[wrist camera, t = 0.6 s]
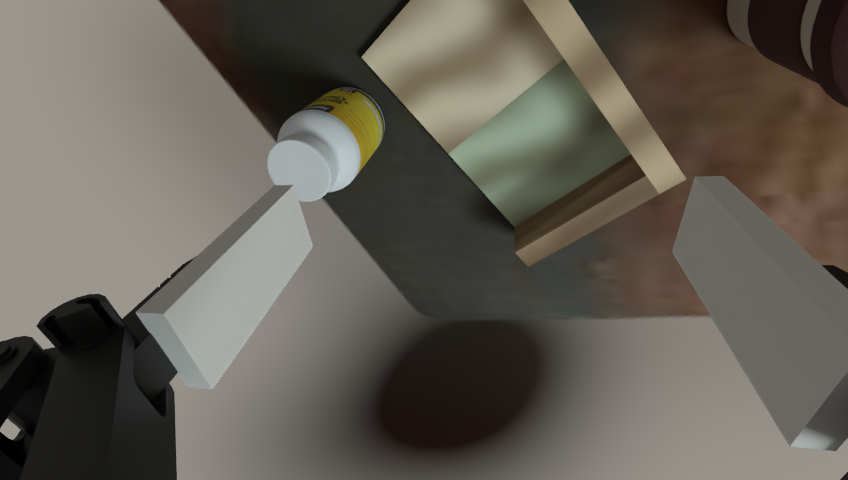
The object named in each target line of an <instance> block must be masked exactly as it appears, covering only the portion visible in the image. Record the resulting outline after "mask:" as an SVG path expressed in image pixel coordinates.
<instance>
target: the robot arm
mask: <svg viewBox="0 0 848 480" xmlns="http://www.w3.org/2000/svg"><path fill="white" fill-rule="evenodd" d="M312 248H313V245H312V242H311V239H310V236H309V232H308V230H307V226H306V223H305V220H304V217H303V213H302V210H301V207H300V204H299V201H298V197H297V194H296V191H295V188H294V185H275V186H273V187H272V188H271V189H270V190H269V191H268V192H267V193H266V194H265V195H264V196H262V197H261V198H260V199H259V200H258V201H257V202H256V203H255V204H254V205H253V206H251V207H250V208H249V209H248V210H247V211H246V212H245V213H244V214H243V215H242V216H240V217H239V218H238V219H237V220H236V221H235V222H234V223H233V224H232V225H231V226H230V227H228V228H227V229H226V230H225V231H224V232H223V233H222V234H221V235H220V236H219V237H217V238H216V239H215V240H214V241H213V242H212V243H211V244H210V245H209V246H208V247H206V248H205V249H204V250H203V251H202V252H201V253H200V254H199V255H198V256H196V257H195V258H193V259H192V260H190V261H188V262H186V263H185V264H183V265H182V266H181V267H180V268H178V270H176V271H175V272H174V273H173V274H172V275H171V278H167V279H166V280H165V281H164V282H163V283H162V284H161V285H160V287H157V288H156V289H155V290H154V291H153V292H152V293H151V294H150V295H148V296H147V297H146V298H145V299H144V300H143V301H142V302H141V303H139V304H138V305H137V306H136V307H135V308H134V309H133V310H132V311H131V312H130V313H129V314H127V315H126V316H125V317H124V318H123V319H121V317H120V316H119V315H118V313H117V312H116V311H115V309H114V308H113V307H112V305H111V304H110V302H109V301H108V300H107V298H106V297H105V296H103V295H100V294H89V295H86V296H81V297H78V298H75V299H73V300H70V301H68V302H66V303H63V304H62V305H60V306H58V307H57V308H55V309H53V310H52V311H50V312H49V313H48V314H47V315H46V316H45V317H43V318H42V319H41V320H40V322H39V323H38V325H37V327H38V328H39V329H40V331H42V333H43V334H44V335H45V336H46V337H47V338H48V339H49V340H50V341H51V342H52V344H53V345H54V346H55V348H50V349H45V350H43V349H42V348H41V346H40V345H39V344H38V343H37V342H36V341H35V340H34V339H33V338H32V337H27V336H22V337H15V338H12V339H9V340H6V341H1V342H0V428H1V426H2V425H3V423H4V422H5V420H6V419H7V418H8V419H9V420H10V421H11V422H12V423H14V424H15V425H16V426H17V427H18V428H19V429H21V430H20V432H19V434H18V435H17V437H16V438H15V439H14V440H11V439H8V438H7V437H6V436H5V435H3V434H2V433H1V432H0V480H177V472H176V442H175V441H176V438H175V405H174V404H175V403H174V391H173V389H172V387H171V385H170V384H169V382H170V381H171V380H172V379H173V377H174V376H175V375H176V374H177V373H178V374H179V376H180V377H181V379H182V380H183V381H184V383H185V384H186V386H187V387H191V388H202V389H211V390H212V389H213V388H214V386H215V385H216V384H217V382H218V381H219V379H220V378H221V376H222V375H223V374H224V372H225V371H226V369H227V368H228V367H229V365H230V364H231V362H232V361H233V360H234V358H235V357H236V355H237V354H238V352H239V351H240V350H241V348H242V347H243V345H244V344H245V343H246V341H247V340H248V338H249V337H250V335H251V334H252V332H253V331H254V330H255V328H256V327H257V326H258V324H259V322H260V321H261V320H262V318H263V317H264V316H265V314H266V313H267V311H268V310H269V309H270V307H271V306H272V304H273V303H274V301H275V300H276V299H277V297H278V296H279V294H280V293H281V292H282V290H283V289H284V287H285V286H286V284H287V283H288V282H289V280H290V279H291V277H292V276H293V274H294V273H295V272H296V270H297V269H298V267H299V266H300V264H301V263H302V262H303V260H304V259H305V257H306V256H307V254H308V253H309V252H310V250H311V249H312ZM672 253H673V255H674V256H675V258H676V259H677V261H678V263H679V264H680V266H681V268H682V269H683V271H684V273H685V274H686V276H687V278H688V279H689V281H690V283H691V284H692V286H693V287H694V289H695V291H696V292H697V294H698V296H699V297H700V299H701V301H702V302H703V304H704V306H705V307H706V309H707V311H708V312H709V314H710V316H711V317H712V319H713V320H714V322H715V324H716V325H717V327H718V329H719V330H720V332H721V334H722V335H723V337H724V339H725V340H726V342H727V344H728V345H729V347H730V349H731V350H732V352H733V353H734V355H735V356H736V358H737V360H738V361H739V363H740V365H741V367H742V368H743V370H744V371H745V373H746V375H747V377H748V378H749V380H750V382H751V383H752V385H753V386H754V388H755V390H756V391H757V393H758V395H759V396H760V398H761V400H762V401H763V403H764V405H765V406H766V408H767V410H768V411H769V413H770V414H771V416H772V418H773V419H774V421H775V423H776V424H777V426H778V428H779V429H780V431H781V433H782V434H783V436H784V438H785V439H786V441H787V443H788V444H789V446H791V447H801V448H811V449H821V450H832V451H836V450H837V449H838V448H839V447H840V446H841V445H842V444H843V442H844V441H845V440H846V439H847V438H848V273H847V272H845V271H843V270H841V269H840V268H838V267H836V266H834V265H821V264H819V263H818V262H817V261H816V260H815V259H814V258H813V257H812V256H811V255H810V254H808V253H807V252H806V251H805V250H804V249H803V248H802V247H801V246H800V245H799V244H798V243H796V242H795V241H794V240H793V239H792V238H791V237H790V236H789V235H788V234H787V233H785V232H784V231H783V230H782V229H781V228H780V227H779V226H778V225H777V224H776V223H775V222H773V221H772V220H771V219H770V218H769V217H768V216H767V215H766V214H765V213H764V212H763V211H761V210H760V209H759V208H758V207H757V206H756V205H755V204H754V203H753V202H752V201H750V200H749V199H748V198H747V197H746V196H745V195H744V194H743V193H742V192H741V191H740V190H738V189H737V188H736V187H735V186H734V185H733V184H732V183H731V182H730V181H729V180H727V179H726V178H725V177H724V176H708V177H695V178H694V181H693V184H692V188H691V191H690V194H689V197H688V201H687V204H686V207H685V211H684V214H683V217H682V220H681V224H680V227H679V230H678V234H677V237H676V240H675V243H674V247H673V250H672ZM841 480H848V472H847V473H846V474H845V475H844V476H843V477H842V479H841Z"/></svg>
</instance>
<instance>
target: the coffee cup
mask: <svg viewBox="0 0 848 480" xmlns="http://www.w3.org/2000/svg"><path fill="white" fill-rule="evenodd" d="M727 18H728V23H729V25H730V28H731V30H732V32H733V33H734V35H735V36H736V37H737V38H738V39H739V40H740V41H742V42H743V43H745V44H746V45H748V46H750V47H753V48H755V49H757V50H758V51H759V52H760V53H761V54H762V55H763V56H765V57H766V58H768V59H769V60H771V61H773V62H775V63H777V64H779V65H781V66H783V67H785V68H787V69H789V70H791V71H794V72H796V73H798V74H800V75H802V76H804V77H806V78H808V79H810V80H812V81H814V82H816V83H818V84H820V86H821V87H822V88H823V90H824V91H825V92H826V93H827V94H828V95H829V96H830V97H831V98H833V99H834V100H835V101H837V102H838V103H840V104H841V105H843V106H846V107H848V0H728V2H727Z"/></svg>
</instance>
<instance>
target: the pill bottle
mask: <svg viewBox="0 0 848 480" xmlns="http://www.w3.org/2000/svg"><path fill="white" fill-rule="evenodd" d="M384 130H385V124H384V118H383V115H382V112H381V110H380V108H379V106H378V105H377V103H376V102H375V101H374V100H373V99H372V98H371V97H370V96H369V95H368V94H366V93H365V92H363V91H361V90H359V89H356V88H352V87H340V88H336V89H334V90H331V91H330V92H328V93H326V94H325V95H323V96H322V97H320V98H319V99H317V100H316V101H314V102H313V103H311V104H310V105H308V106H306V107H305V108H303V109H302V110H300V111H299V112H297V113H295V114H294V115H292V116H291V117H290V118H289V119H288V120H286V122H285V123H284V124H283V126H282V127H281V129H280V132H279V135H278V140H277V143H276V144H275V145H274V146H273V147H272V148H271V150H270V151H269V154H268V158H267V168H268V172H269V175H270V177H271V179H272V181H273V182H274V184H275V185H294V188H295V191H296V194H297V197H298V201H305V202H308V201H315V200H318V199H320V198H321V197H323V196H324V195H325V194H326V193H327V192H333V191H337V190H340V189H342V188H344V187H346V186H347V185H348V184H350V183H351V182H352V180H353V179H354V178H355V177H356V176H357V174H358V173H359V172H360V170H361V169H362V168H363V166H364V165H365V164H366V162H367V161H368V160H369V158H370V157H371V156H372V154H373V153H374V152H375V150H376V149H377V148H378V146H379V145H380V143H381V141H382V139H383V136H384Z"/></svg>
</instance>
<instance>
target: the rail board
mask: <svg viewBox="0 0 848 480" xmlns="http://www.w3.org/2000/svg"><path fill="white" fill-rule="evenodd" d="M361 58H362V59H363V60H364V61H365V62H366V63H367V64H368V65H369V66H370V68H371V69H372V70H373V71H374V72H375V73H376V74H377V75H378V76H379V78H380V79H381V80H382V81H383V82H384V83H385V84H386V85H387V86H388V88H389V89H390V90H391V91H392V92H393V93H394V94H395V95H396V96H397V98H398V99H399V100H400V101H401V102H402V103H403V104H404V105H405V106H406V108H407V109H408V110H409V111H410V112H411V113H412V114H413V115H414V116H415V118H416V119H417V120H418V121H419V122H420V123H421V124H422V125H423V126H424V128H425V129H426V130H427V131H428V132H429V133H430V134H431V135H432V136H433V138H434V139H435V140H436V141H437V142H438V143H439V144H440V145H441V146H442V148H443V149H444V150H445V151H446V152H447V153H448V154H449V155H450V156H451V158H452V159H453V160H454V161H455V162H456V163H457V164H458V165H459V166H460V167H461V169H462V170H463V171H464V172H465V173H466V174H467V175H468V176H469V177H470V179H471V180H472V181H473V182H474V183H475V184H476V185H477V186H478V187H479V189H480V190H481V191H482V192H483V193H484V194H485V195H486V196H487V197H488V199H489V200H490V201H491V202H492V203H493V204H494V205H495V206H496V207H497V209H498V210H499V211H500V212H501V213H502V214H503V215H504V216H505V217H506V219H507V220H508V221H509V222H510V223H511V224H512V225H513V226H514V235H515V253H516V254H517V255H518V256H519V257H520V258H521V259H522V261H523V262H524V263H525V264H526V265H527V266H528V267H529V266H530V265H532V264H534V263H536V262H538V261H540V260H541V259H543V258H545V257H547V256H549V255H550V254H552V253H554V252H556V251H558V250H559V249H561V248H563V247H565V246H567V245H568V244H570V243H572V242H574V241H576V240H577V239H579V238H581V237H583V236H585V235H586V234H588V233H590V232H592V231H594V230H595V229H597V228H599V227H601V226H603V225H605V224H606V223H608V222H610V221H612V220H614V219H615V218H617V217H619V216H621V215H623V214H624V213H626V212H628V211H630V210H632V209H633V208H635V207H637V206H639V205H641V204H642V203H644V202H646V201H648V200H650V199H651V198H653V197H655V196H657V195H659V194H660V193H662V192H664V191H666V190H668V189H669V188H671V187H673V186H675V185H677V184H679V183H680V182H682V181H684V180H686V178H685V176H684V175H683V173H682V172H681V170H680V169H679V167H678V166H677V164H676V163H675V161H674V160H673V158H672V157H671V155H670V154H669V152H668V151H667V149H666V148H665V146H664V145H663V143H662V142H661V140H660V138H659V137H658V135H657V134H656V132H655V131H654V129H653V128H652V126H651V125H650V123H649V122H648V120H647V119H646V117H645V116H644V114H643V113H642V111H641V110H640V108H639V107H638V105H637V104H636V102H635V101H634V99H633V98H632V96H631V95H630V93H629V92H628V90H627V89H626V87H625V85H624V84H623V82H622V81H621V79H620V78H619V76H618V75H617V73H616V72H615V70H614V69H613V67H612V66H611V64H610V63H609V61H608V60H607V58H606V57H605V55H604V54H603V52H602V51H601V49H600V48H599V46H598V45H597V43H596V42H595V40H594V39H593V37H592V36H591V34H590V33H589V31H588V29H587V28H586V26H585V25H584V23H583V22H582V20H581V19H580V17H579V16H578V14H577V13H576V11H575V10H574V8H573V7H572V5H571V4H570V2H569V1H568V0H410V1H409V3H408V4H407V5H406V6H405V7H404V8H403V9H402V11H401V12H400V13H399V14H398V15H397V16H396V18H395V19H394V20H393V21H392V22H391V23H390V25H389V26H388V27H387V28H386V29H385V30H384V31H383V33H382V34H381V35H380V36H379V37H378V38H377V40H376V41H375V42H374V43H373V44H372V45H371V47H370V48H369V49H368V50H367V51H366V52H365V53H364V55H363V56H362V57H361Z"/></svg>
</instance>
